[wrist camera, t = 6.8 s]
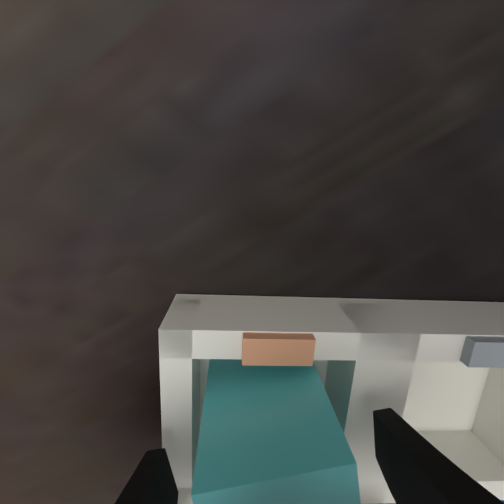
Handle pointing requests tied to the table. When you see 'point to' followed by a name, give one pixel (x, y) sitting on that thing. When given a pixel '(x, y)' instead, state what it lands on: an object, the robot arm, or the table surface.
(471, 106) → the table surface
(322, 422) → the teal rectangular block
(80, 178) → the table surface
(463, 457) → the white divided tray
